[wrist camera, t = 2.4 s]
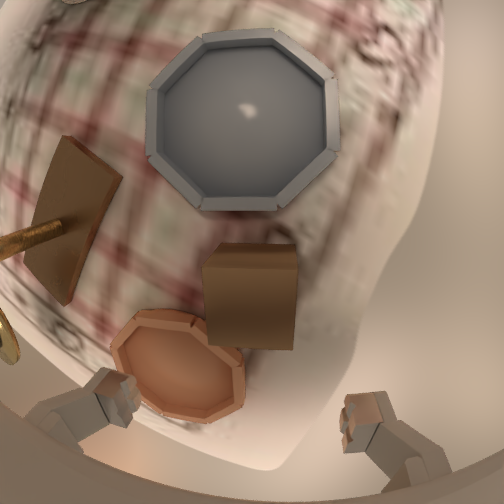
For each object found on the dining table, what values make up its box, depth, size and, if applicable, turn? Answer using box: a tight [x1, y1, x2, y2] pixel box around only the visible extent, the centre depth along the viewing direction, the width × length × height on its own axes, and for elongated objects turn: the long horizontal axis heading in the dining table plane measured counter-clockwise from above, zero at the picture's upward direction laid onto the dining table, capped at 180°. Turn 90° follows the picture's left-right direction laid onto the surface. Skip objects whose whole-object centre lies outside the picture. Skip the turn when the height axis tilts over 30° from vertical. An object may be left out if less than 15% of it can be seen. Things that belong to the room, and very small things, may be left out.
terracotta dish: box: [110, 309, 246, 424], centre depth 22 cm, size 12×12×2 cm
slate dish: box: [145, 28, 340, 211], centre depth 15 cm, size 12×12×2 cm
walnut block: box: [201, 243, 298, 350], centre depth 17 cm, size 5×5×5 cm
